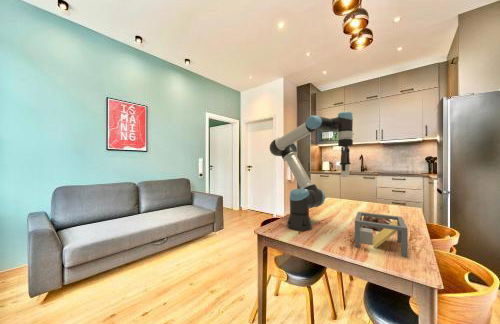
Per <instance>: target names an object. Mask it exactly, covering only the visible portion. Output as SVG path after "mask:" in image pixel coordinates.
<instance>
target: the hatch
mask: <svg viewBox="0 0 500 324" xmlns="http://www.w3.org/2000/svg"><path fill="white" fill-rule="evenodd" d="M389 225H396V226H398V225H397V220H391V223H390V224H389ZM397 231H398V230H392V229H385V228H384V229H383V230H382V231H379V232H378V233H377V234H375V236H373V248H374V249H377V248H379V246H381V244H383V243H384V242H385V241H386V240H388V239H390V238H391V237H392V236H393V235H394V234H395V233H397Z"/></svg>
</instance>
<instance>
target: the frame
mask: <svg viewBox="0 0 500 324" xmlns="http://www.w3.org/2000/svg"><path fill="white" fill-rule="evenodd" d="M364 216H368V217H376V218H384V219H389V220H391V221H393V220H395V221H396V222H397V225H398V226H396V225H389V224H382V223H375V222H367V221H363V220H362V219H363V217H364ZM363 225H365V226H372V227H379V228H385V229H392V230H398V231H396V238H397V240H396V241H397V242H398V243H400V255H401V257H405V258H409V257H408V248H409V247H408V240H409V239H408V236H409V235H408V234H409V233H408V231H409V229H408V227H407V224H406V222H405V220H404V217H403V216H398V215H395V216H394V215H390V214H388V215H387V214H381V213H373V212H362V211H357V212H356V216H355V218H354V247H356V248H359V249H360V248H361V247H360V246H361V243H360V227H361V228H363ZM365 226H364V227H365Z"/></svg>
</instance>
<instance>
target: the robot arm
mask: <svg viewBox="0 0 500 324" xmlns="http://www.w3.org/2000/svg"><path fill="white" fill-rule="evenodd" d="M353 121H354V119H353V112H351V111H341V112H339V113H338V115H337V117H333V118H332V117H331V118H328V117H325V116H323V117H322V116H319V115H309V116H308V118H307V119H306V121H305V122H303V123H302V124H300V125H298V126H297V127H296V128H294V129H292V130H290V131H289V132H288V133H286V134H284V135H283V136H281V137H277V138H275V139H273V140H272V141H271V142H270V144H269V152H270V154H271V155H273V156H275V157H281V158H282V160H283V161H284V162H286V163H287V165H288V167H289V169H290V171H291V173H292V175H293V177H294V179H295V180H296V182H297V184H298V187H299V188H294V189H291V191H290V192H289V216H288V219H287V223H286V224H287V225H286V226H287V228H289V229H291V230H294V231H299V232H301V231H302V232H303V231H309V230H312V229H313V223H312V221H311V216H310V209H313V208H318V207H320V206H322V205H323V204H324V203H325V199H326V196H325V192H324V191H323V190H322V189H320V188H318V187H317V185H316V184H315V183H313V182H312V181H311V178H310V177H309V175H308V174H307V172H306V170H305V169H304V167H303V164H302V163H301V161H300V159H299V158H298V145H297V144H296V142H298V141H299V140H302V139H304V138H305V137H307V136H308V135H311V134H312V133H315V132H316V131H320V132H322V133H325V132H326V133H328V132H333V131H337V138H338V141H337V144H338V145H337V146H338V147H340V148H341V151H340V152H341V154H340V162H339V165H340V177H342V178H347V177H348V176H350V173H351V172H350V165H351V161H350V159H351V158H350V147H352V146H353V144H354V142H353V141H354V140H353V135H354V134H355V133H354V132H353V128H354V127H353V123H354V122H353Z"/></svg>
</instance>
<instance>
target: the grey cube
mask: <svg viewBox="0 0 500 324" xmlns="http://www.w3.org/2000/svg"><path fill="white" fill-rule="evenodd" d="M373 230H374V229H373V228H367V227H362V228H361V227H360V244H367V245H370V246H371V245H372V246H374V236H373Z"/></svg>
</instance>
